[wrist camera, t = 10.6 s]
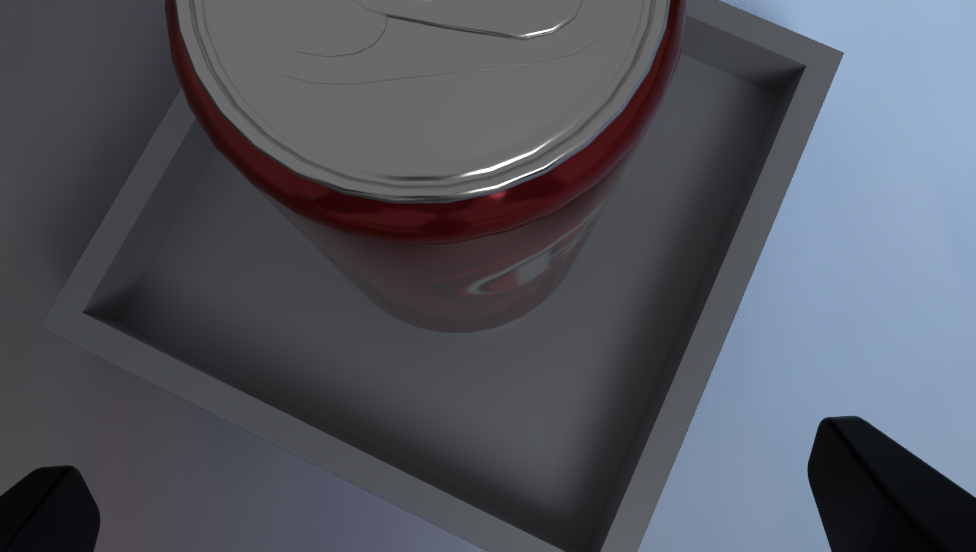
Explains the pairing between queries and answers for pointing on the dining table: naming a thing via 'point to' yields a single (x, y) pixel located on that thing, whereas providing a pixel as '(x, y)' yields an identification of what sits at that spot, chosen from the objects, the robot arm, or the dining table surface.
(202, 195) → the tray
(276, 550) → the dining table surface
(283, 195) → the soda can
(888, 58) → the dining table surface
